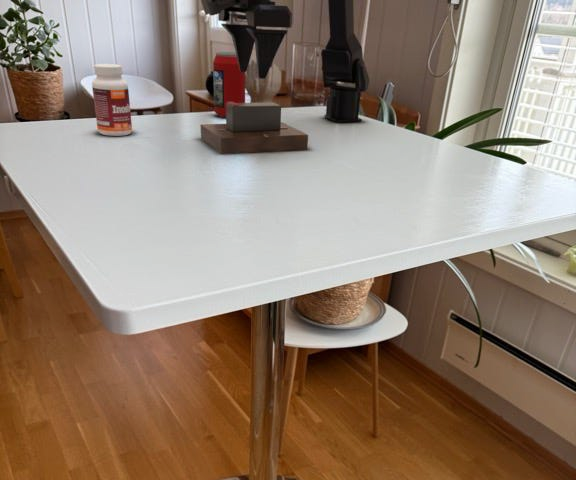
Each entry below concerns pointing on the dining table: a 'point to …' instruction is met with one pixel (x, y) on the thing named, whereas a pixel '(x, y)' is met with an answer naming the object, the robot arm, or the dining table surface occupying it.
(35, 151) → the dining table surface
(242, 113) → the rectangular block
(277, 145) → the brown wooden base
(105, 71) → the pill bottle
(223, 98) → the beverage can
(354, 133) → the dining table surface
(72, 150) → the dining table surface
